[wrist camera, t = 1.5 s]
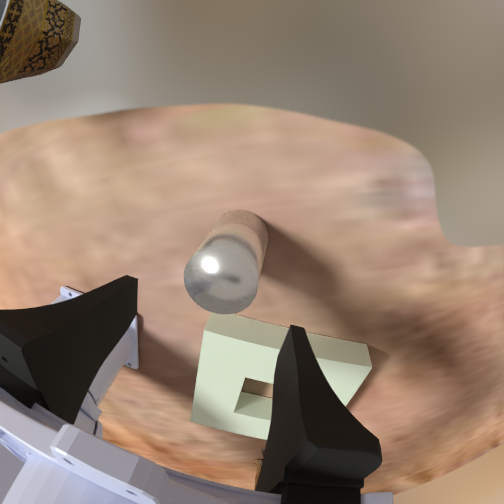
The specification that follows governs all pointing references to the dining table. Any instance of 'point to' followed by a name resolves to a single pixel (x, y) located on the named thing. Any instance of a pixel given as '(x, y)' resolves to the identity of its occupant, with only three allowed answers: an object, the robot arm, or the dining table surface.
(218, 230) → the peg
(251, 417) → the socket block
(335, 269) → the dining table surface
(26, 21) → the ceramic cup
